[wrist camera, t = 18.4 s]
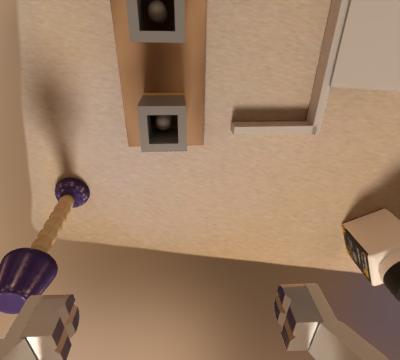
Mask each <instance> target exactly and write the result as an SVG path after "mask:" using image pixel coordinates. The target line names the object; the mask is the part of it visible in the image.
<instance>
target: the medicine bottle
mask: <svg viewBox="0 0 400 360" xmlns="http://www.w3.org/2000/svg"><path fill="white" fill-rule="evenodd" d="M342 230H343V235H344V240H345V245H346V250H347V253H348V255H349V256H350V257H351V258H352V260H353V261H354V262H355V264H356V265H357V266H358V267H359V269H360V270H361V271H362V272H363V274H364V275H365V276H366V278H367V279H368V280H369V281H370V283H371V284H372V285H374V286H376V285H379V284H382V283H384V284H385V286H386V287H387V288H388V289H389V290H390V292H391V293H392V294H393V295H394V296H395V298H396V299H397V300H398V301H399V302H400V220H399V219H398V218H397V217H396V216H394V215H393V214H392V213H391V212H390V211H388V210H387V209H385V208H384V209H381V210H379V211H376V212H373V213H370V214H368V215H365V216H362V217H360V218H357V219H354V220H351V221H349V222H346V223H343V224H342Z"/></svg>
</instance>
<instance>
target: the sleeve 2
mask: <svg viewBox="0 0 400 360" xmlns="http://www.w3.org/2000/svg"><path fill="white" fill-rule="evenodd" d="M137 112H138V122H139V132H140V141H141V151H142V152H166V151H187V126H186V101H185V94H184V93H144V94H143V96H142V98H141V99H140V101H139V103H138V105H137ZM153 115H178V125H171V126H170V128H169V129H167V130H161V129H159V128H158V127H157V126H156V125H154V123H153Z"/></svg>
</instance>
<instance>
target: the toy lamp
mask: <svg viewBox="0 0 400 360" xmlns="http://www.w3.org/2000/svg"><path fill="white" fill-rule="evenodd" d="M89 193H90V192H89V189H88V187H87V186H86V184H84V183H83V182H82V181H80V180H78V179H74V178H65V179H63V180H61V181H60V182H59V183H58V184H57V186H56V188H55V196H56V198H57V200H58V201H59V202H58V204H57V205H56V206H55V208H54V211H53V212H52V213H51V214H50V216H49V219H48V220H47V221H46V222H45V224H44V228H43V229H42V230H41V231H40V232H39V234H38V238H37V239H36V240H35V241H34V242H33V244H32V246H31V248H20V249H16V250H13V251H11V252H9V253H8V254H6V255H5V256H4V258H3V259H2V261H1V264H0V311H1V312H3V313H7V314H17V313H19V312H20V310H21V308H22V307H23V305H24V303H25V301H26V300H27V299H28V298H29V297H30V296H31V295H41V294H42V293H43V292H44V291H45V289H46V288H47V287H48V286H49V285H50V283H51V282H52V281H53V279H54V278H55V276H56V274H57V270H58V267H57V264H56V261H55V260H54V259H53V258H52V257H51V256H50V255H49V254H48V253H49V252H50V250H51V248H52V244H53V243H54V242H55V240H56V239H57V234H58V233H59V232H60V231H61V229H62V225H63V224H64V223H65V221H66V218H67V216H68V215H69V213H70V209H71V208H73V207H79V206H81V205H83V204H84V203H85V202H86V201H87V200H88V198H89V195H90V194H89Z"/></svg>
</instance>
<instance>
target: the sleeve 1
mask: <svg viewBox="0 0 400 360" xmlns="http://www.w3.org/2000/svg"><path fill="white" fill-rule="evenodd" d="M126 5H127V15H128V25H129V34H130V42H162V43H185V0H174V8H175V31H147V29H146V16H145V3H144V0H126Z"/></svg>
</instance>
